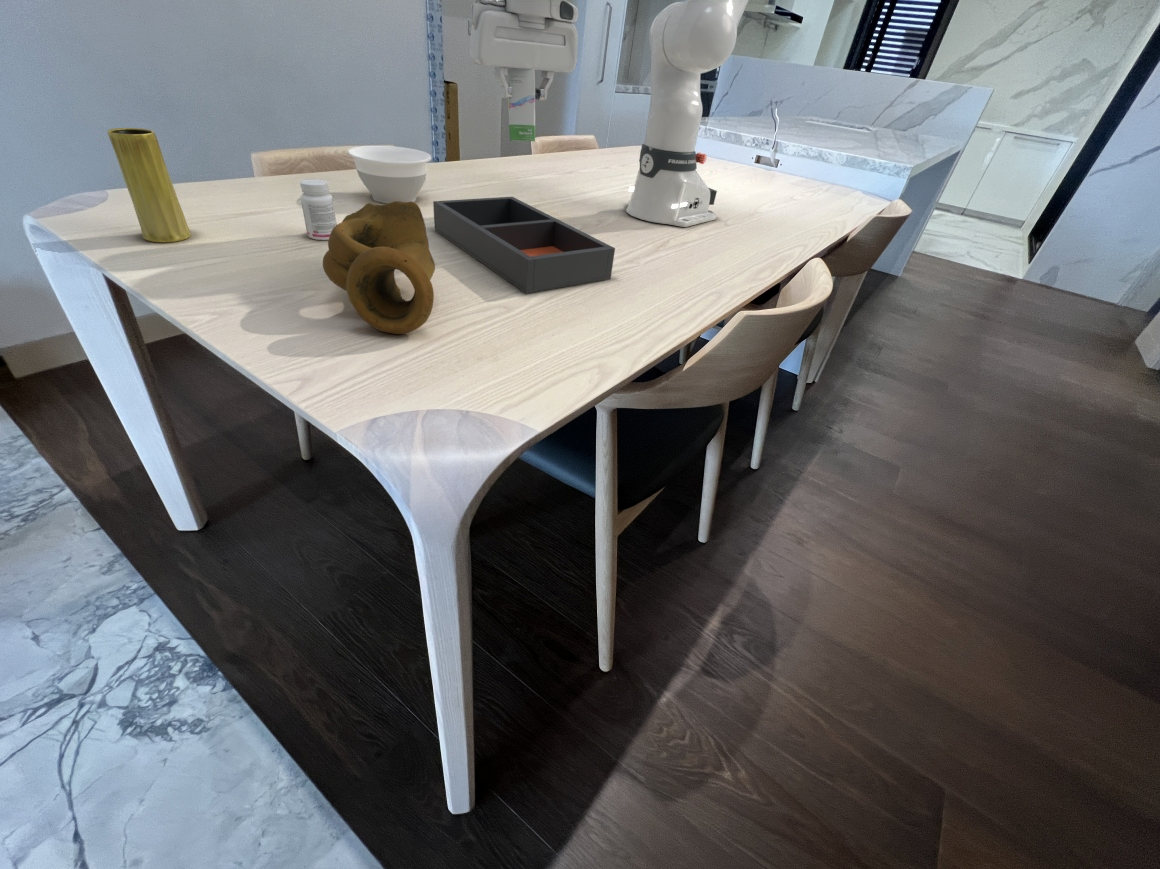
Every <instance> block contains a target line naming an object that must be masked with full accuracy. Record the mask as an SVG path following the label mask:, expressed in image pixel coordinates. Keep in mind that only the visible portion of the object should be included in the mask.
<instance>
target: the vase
mask: <svg viewBox="0 0 1160 869" xmlns="http://www.w3.org/2000/svg"><path fill="white" fill-rule="evenodd" d="M106 132H107V136H108V138H109V141H110V143H111V145H112V147H113V151H114V153H115V157H116V159H117V163H118V165H119V168H120V171H121V174H122V178H123V180H124V182H125V186H126V189H127V191H128V193H129V197H130V200H131V203H132V205H133V208H134V209H133V210H134V212H135V214H136V217H137V220H138V225H139V226H140V227H139V228H140V229H141V233H142V234H141V237H142V238H143V239H144V240H145V241H149V242H152V243H175V242H181V241H184V240H187V239H189V238H191V235H192V232H191V230H190V227H189V225H188V223H187V220H186V217H185V215H184V212H183V209H182V206H181V204H180V201H179V199H178V196H177V193H176V190H175V187H174V184H173V182H172V179H171V177H170V176H171V175H170V174H169V171H168V167H167V164H166V162H165V159H164V155H163V152H162V150H161V146H160V144H159V140H158V138H157V134H156V132H155V130H152V129H147V128H141V127H115V128H114V127H113V128H110V129H108V130H107V131H106Z"/></svg>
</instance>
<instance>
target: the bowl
mask: <svg viewBox="0 0 1160 869" xmlns="http://www.w3.org/2000/svg"><path fill="white" fill-rule="evenodd" d="M347 154H348V155H349V156H350V157H351V158H353V161H354V166H355V170H356V172H357V175H358V177H359V179H360V181H361V183H362V184H363V185H364V187H365V188H366V189H367V191H369V193H370V194H371V196H372V199H373V200H374V201H375V202H378V203H383V204H388V203H391V202H394V201H400V202H414V203H416V201H417V196H418V194H419V193H420V191H421V190H422V188H423V187H424V184H425V182H426V178H427V173H428V166H427V165H428V163H429V162H430V161H432V155H431V154H430V153H428V152H426V151H423V150H421V149H420V150H419V149H415V148H410V147H403V146H394V145H361V146H355V147H352V148H349V149H348V150H347Z"/></svg>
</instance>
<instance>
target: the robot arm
mask: <svg viewBox="0 0 1160 869" xmlns="http://www.w3.org/2000/svg"><path fill="white" fill-rule="evenodd" d="M472 1H473V2H472V3H471V7H470V22H471V30H470V39H469V40H470V41H469V56H470V59H471V60H472V63H474V64H475V65H478V66H484V67H485V66H487V67H493V68H494V70H493V72H494V74H493V75H494V76H495V78H496V80H497V83H498V85H499V97H500V98H501V99H506V100H508V99H511V98H512V87H509V86H508V81H507V79H506V76H508V68H520V69H533V68H534V71H540V78H542V80H541V82H540V85H539V87H535V100H538V101H547V99H548V90H549V88H550V87H551V84H552V83H553V81H554V76H555V73H565V74H567V73H568V74H572V73H573V72H574V70H575V69H576V67H577V63H578V62H577V61H578V51H579V50H578V49H579V48H578V47H579V36H578V30H577V27H576V25H575V23H576V22H577V21H578V19H579V9H578V8H577V6H576V5H574V4H573V3H572V2H570V1H569V0H472ZM749 1H750V0H685V1H676V2H672V3H671V4H669V5H667V6H666V7H664V8H663V9H662V10H661V11H660V12H659V13H658V14H657V15H656V16H655V17H654V19H653V21H652V23H651V25H650V29H649V33H648V44H649V48H650V100H649V108H648V109H649V111H648V117H647V123H646V128H645V135H644V142H643V143H642V144H641V149H640V151H639V159H638V162H639V170H638V171H637V174H636V178H635V181H634V185H633V186H631V185H630V186H629V187H628V192H632V193H631V197H630V199H629V201H628V203H627V207H626V210H625V211H626V214H628V215H630V216H631V217H634V218H636V219H640V220H643V221H646V222H650V223H655V224H665V225H671V226H676V227H682V228H688V227H691V226H695V225H699V224H704V223H708V222H711V221H714V220H717V217H718V215H717V213H715V212H714V211H712V210H711V209H709V207H710V206H713V205H715V200H716V197H717V193H718V190H716V189H713V188H711V187H708V185H707V184H706V183H705V181H704V180H703V179H702V177H701V176H700V174H699V173H698V171H697V169H698V167H697V165H698V164H697V163H699V164H701V165H704V164H705V163H706V162H707V157H708V156H707V154H706V153H701V152H696V151H695V150H696V145H697V140H698V136H699V131H700V127H701V121H702V116H703V109H704V108H703V102H702V97H701V74H705V73H708V72H711V71H713V70H715V69H718V68H719V67H721V66H722V65H724V64H725V63H726V62H727V61H728V59H730V57H731V55H732V54H733V51H734V49H735V46H736V43H737V38H738V37H737V36H738V27H739V24H740V22H741V20H742V17H743V15H744V12H745V10H746V7H747V5H748V3H749Z"/></svg>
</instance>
